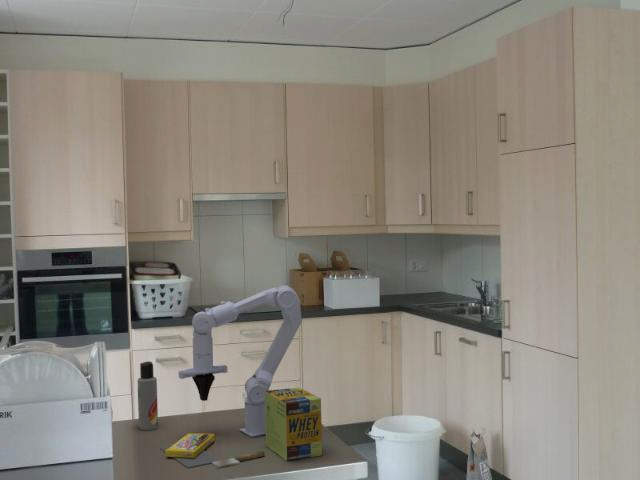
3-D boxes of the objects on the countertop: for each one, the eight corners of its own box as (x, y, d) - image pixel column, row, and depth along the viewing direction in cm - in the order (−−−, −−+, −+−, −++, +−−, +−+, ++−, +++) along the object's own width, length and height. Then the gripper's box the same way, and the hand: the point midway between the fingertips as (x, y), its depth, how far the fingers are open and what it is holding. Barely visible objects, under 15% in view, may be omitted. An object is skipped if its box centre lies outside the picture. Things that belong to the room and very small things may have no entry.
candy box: (194, 450, 208) (164, 450, 210) (194, 458, 208) (165, 458, 210) (214, 432, 224) (187, 432, 226) (215, 440, 224) (187, 440, 226)
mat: (189, 442, 224) (189, 441, 224) (220, 461, 207) (220, 460, 207) (159, 448, 219) (159, 447, 219) (187, 468, 202) (187, 467, 202)
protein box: (286, 461, 206) (285, 403, 205) (265, 445, 220) (264, 390, 219) (323, 455, 210) (322, 398, 210) (299, 440, 224) (298, 386, 224)
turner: (259, 454, 213) (259, 448, 212) (267, 458, 209) (266, 452, 209) (212, 464, 205) (211, 458, 205) (218, 468, 202) (218, 463, 202)
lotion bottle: (162, 426, 240) (160, 361, 239) (148, 431, 235) (146, 365, 234) (148, 424, 243) (146, 359, 242) (134, 429, 238) (132, 363, 237)
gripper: (219, 348, 237) (220, 393, 237) (174, 354, 229) (175, 400, 230) (230, 352, 231) (231, 398, 231) (183, 358, 223) (184, 405, 224)
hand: (203, 399), depth 230 cm, fingers closed
